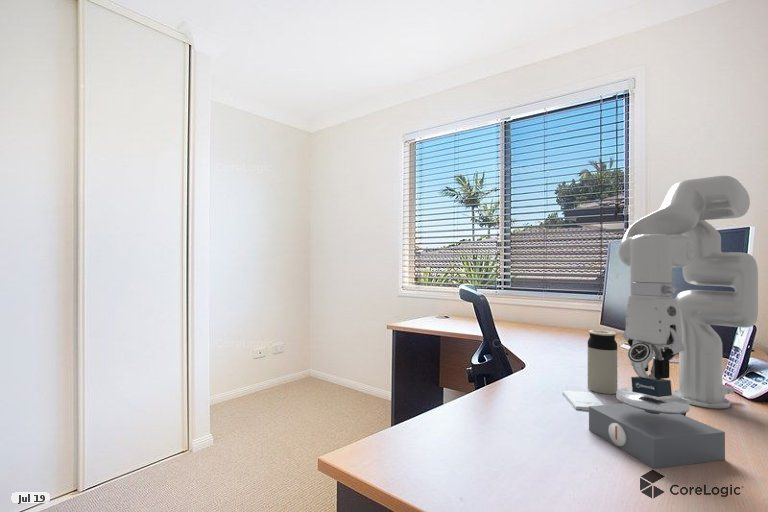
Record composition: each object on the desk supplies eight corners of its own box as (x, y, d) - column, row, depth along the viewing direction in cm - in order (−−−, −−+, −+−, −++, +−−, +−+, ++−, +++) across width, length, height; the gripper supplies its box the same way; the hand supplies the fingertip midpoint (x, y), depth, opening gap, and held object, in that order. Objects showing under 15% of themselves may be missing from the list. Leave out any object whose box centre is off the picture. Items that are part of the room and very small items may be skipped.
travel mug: (589, 392, 115) (589, 332, 115) (586, 384, 122) (586, 328, 123) (619, 396, 112) (619, 335, 112) (614, 388, 119) (614, 330, 120)
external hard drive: (591, 398, 112) (608, 414, 100) (562, 396, 114) (575, 411, 101) (591, 392, 112) (608, 408, 100) (562, 390, 114) (575, 405, 101)
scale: (649, 424, 93) (649, 401, 93) (725, 459, 76) (724, 432, 76) (586, 430, 89) (586, 406, 89) (651, 468, 72) (651, 439, 72)
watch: (626, 392, 83) (622, 340, 85) (651, 389, 86) (647, 340, 87) (652, 397, 78) (647, 342, 79) (677, 395, 81) (673, 342, 82)
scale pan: (649, 398, 90) (649, 386, 90) (706, 421, 78) (706, 406, 78) (602, 402, 88) (602, 389, 88) (653, 426, 75) (653, 411, 75)
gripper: (704, 293, 76) (705, 386, 75) (633, 288, 92) (633, 363, 92) (673, 294, 74) (673, 388, 74) (606, 288, 91) (606, 365, 90)
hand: (651, 373), depth 83 cm, fingers closed on watch, 4 cm apart
